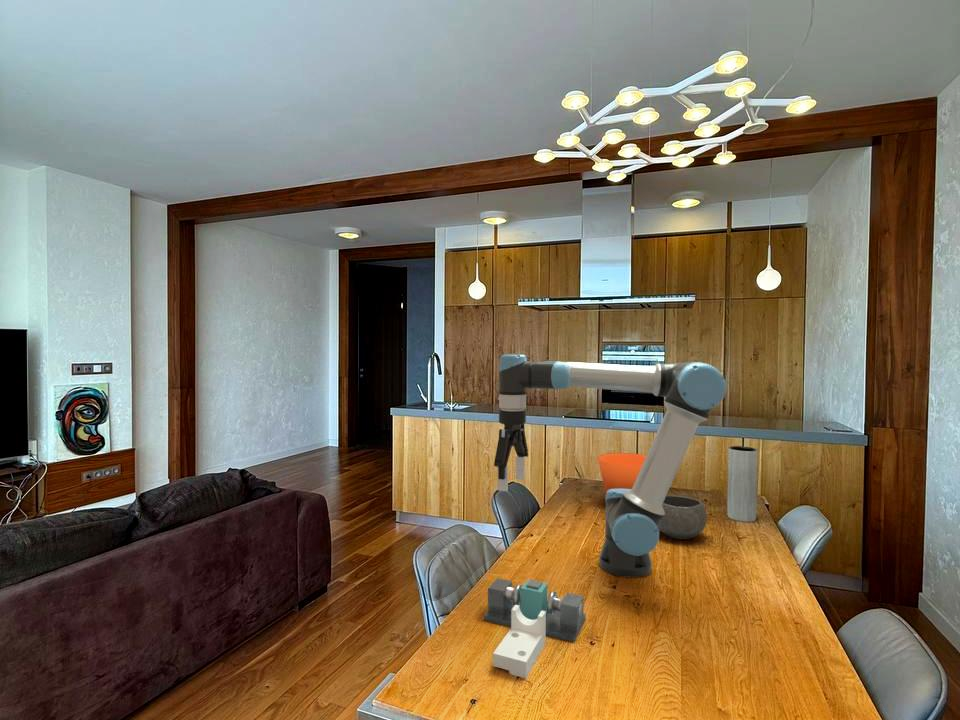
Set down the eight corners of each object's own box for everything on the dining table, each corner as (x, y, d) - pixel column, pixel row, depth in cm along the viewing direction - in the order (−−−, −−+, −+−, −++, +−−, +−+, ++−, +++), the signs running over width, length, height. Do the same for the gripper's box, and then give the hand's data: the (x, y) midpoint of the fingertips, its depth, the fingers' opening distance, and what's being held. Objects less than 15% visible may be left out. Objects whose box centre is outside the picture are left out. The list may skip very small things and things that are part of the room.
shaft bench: (585, 618, 123) (586, 588, 123) (574, 642, 113) (575, 609, 113) (500, 599, 133) (501, 571, 132) (483, 620, 123) (483, 589, 122)
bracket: (515, 637, 116) (515, 604, 116) (545, 645, 113) (545, 611, 113) (493, 670, 104) (493, 633, 104) (526, 679, 101) (526, 642, 101)
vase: (757, 516, 200) (758, 447, 199) (755, 524, 191) (756, 452, 191) (728, 512, 205) (729, 445, 205) (725, 519, 197) (726, 449, 196)
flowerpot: (669, 516, 199) (669, 466, 199) (604, 516, 200) (605, 465, 199) (649, 498, 224) (649, 453, 224) (591, 497, 225) (592, 452, 224)
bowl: (649, 541, 174) (650, 504, 173) (653, 524, 190) (653, 490, 190) (707, 549, 167) (707, 510, 167) (705, 531, 184) (706, 496, 183)
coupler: (547, 612, 124) (547, 581, 124) (541, 622, 120) (541, 589, 119) (527, 607, 126) (528, 577, 126) (520, 617, 122) (521, 585, 121)
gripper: (515, 404, 157) (514, 473, 157) (481, 413, 134) (481, 494, 134) (538, 405, 153) (538, 476, 154) (508, 415, 131) (508, 497, 131)
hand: (511, 484), depth 144 cm, fingers open, 13 cm apart
